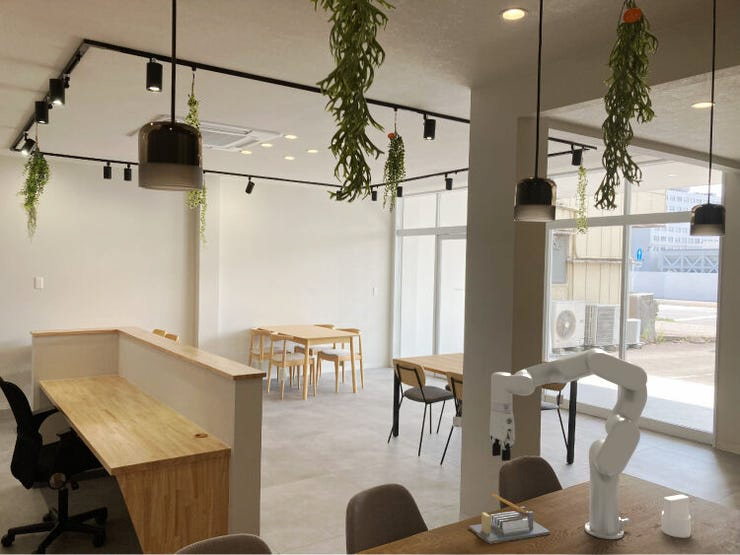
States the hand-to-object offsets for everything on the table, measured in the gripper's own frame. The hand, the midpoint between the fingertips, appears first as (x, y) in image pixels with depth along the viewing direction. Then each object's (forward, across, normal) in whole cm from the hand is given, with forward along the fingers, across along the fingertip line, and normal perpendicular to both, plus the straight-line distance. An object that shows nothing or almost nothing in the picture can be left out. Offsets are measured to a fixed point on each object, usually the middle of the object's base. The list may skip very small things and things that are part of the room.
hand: (501, 457), depth 212 cm
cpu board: (+23, -7, +1) cm, 25 cm away
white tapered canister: (+24, -26, -54) cm, 64 cm away
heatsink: (+23, -7, +1) cm, 25 cm away
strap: (+15, -7, +1) cm, 16 cm away
